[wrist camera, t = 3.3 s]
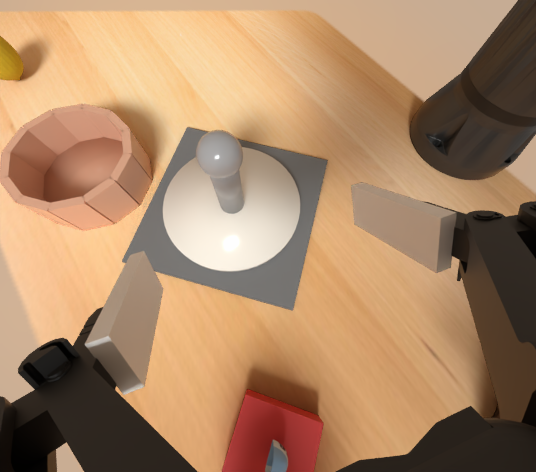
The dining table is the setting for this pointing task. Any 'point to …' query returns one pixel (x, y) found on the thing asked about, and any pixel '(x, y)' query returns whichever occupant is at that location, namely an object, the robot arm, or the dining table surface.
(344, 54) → the dining table surface
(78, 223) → the bowl
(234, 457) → the red rectangular block
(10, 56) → the lemon
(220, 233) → the lid
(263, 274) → the mat
